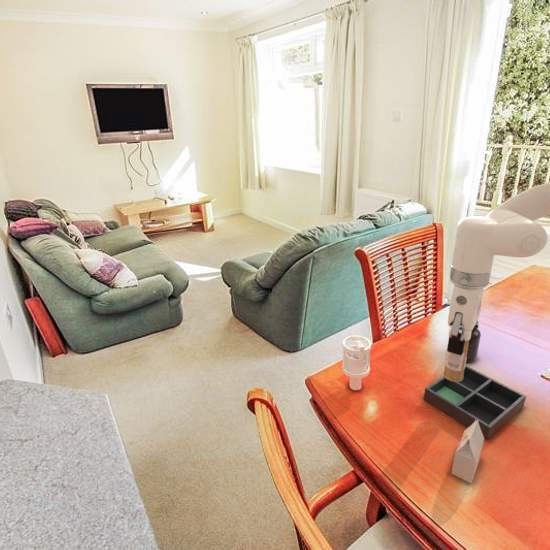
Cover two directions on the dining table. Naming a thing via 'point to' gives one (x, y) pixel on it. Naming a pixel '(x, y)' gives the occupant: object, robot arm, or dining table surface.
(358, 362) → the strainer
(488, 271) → the robot arm
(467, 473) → the white gable-top carton
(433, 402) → the rack
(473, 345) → the supplement bottle
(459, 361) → the sprinkles bottle
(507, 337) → the dining table surface
